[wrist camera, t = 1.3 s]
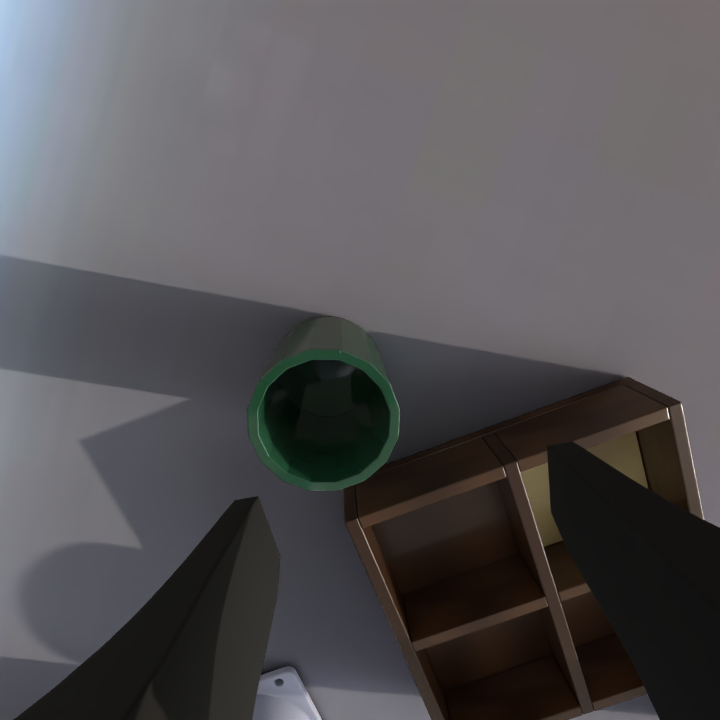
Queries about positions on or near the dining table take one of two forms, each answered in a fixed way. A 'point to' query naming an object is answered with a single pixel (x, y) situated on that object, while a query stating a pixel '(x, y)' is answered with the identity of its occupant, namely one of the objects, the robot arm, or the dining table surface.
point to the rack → (511, 557)
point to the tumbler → (324, 407)
